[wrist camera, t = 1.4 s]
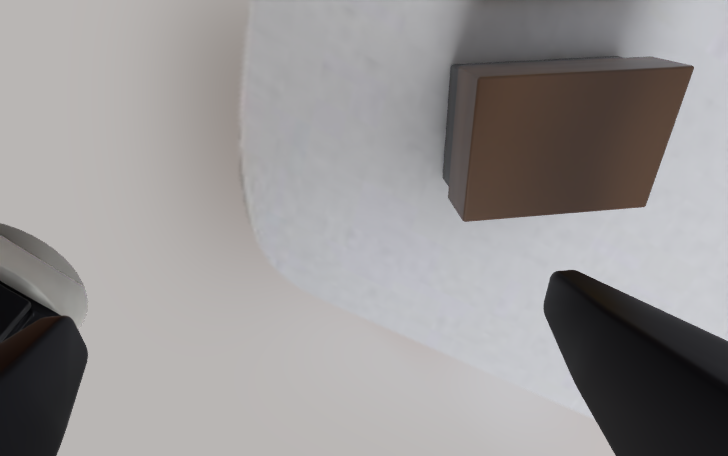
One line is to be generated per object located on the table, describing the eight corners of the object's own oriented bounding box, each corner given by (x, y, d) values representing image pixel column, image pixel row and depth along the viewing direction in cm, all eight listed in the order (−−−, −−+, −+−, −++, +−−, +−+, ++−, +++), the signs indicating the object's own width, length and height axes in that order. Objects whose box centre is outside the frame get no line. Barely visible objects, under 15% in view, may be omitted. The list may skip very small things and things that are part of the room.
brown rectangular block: (437, 182, 18) (462, 222, 15) (445, 59, 16) (478, 77, 13) (591, 171, 19) (646, 207, 16) (624, 50, 16) (696, 66, 13)
